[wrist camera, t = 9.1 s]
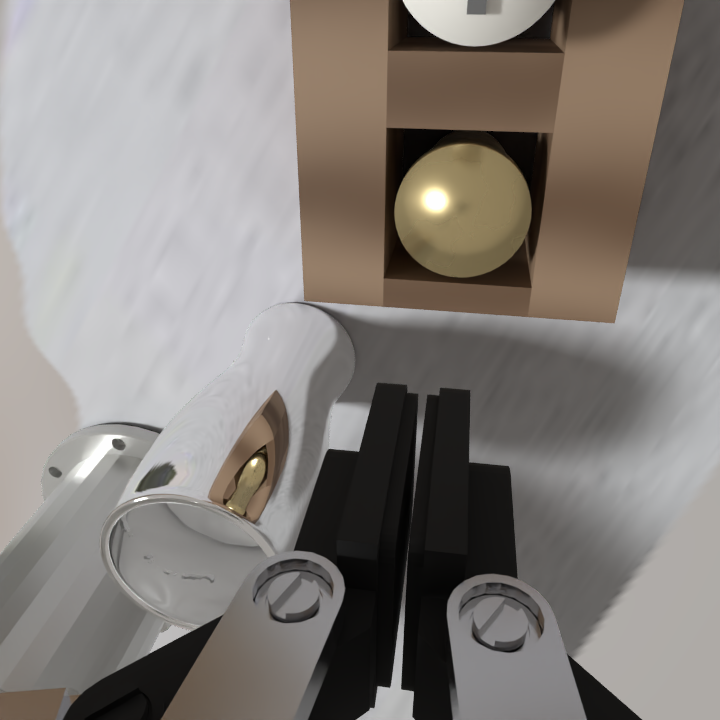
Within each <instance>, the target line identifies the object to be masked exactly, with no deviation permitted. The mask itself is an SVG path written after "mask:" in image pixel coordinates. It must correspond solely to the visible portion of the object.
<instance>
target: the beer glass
mask: <svg viewBox="0 0 720 720" xmlns="http://www.w3.org/2000/svg"><path fill="white" fill-rule="evenodd" d="M354 370H355V351H354V347H353V344H352V341H351V339H350V337H349V335H348V333H347V332H346V330H345V329H344V328H343V326H342V325H341V324H340V323H339V322H338V321H337V320H336V319H335V318H333V317H332V316H331V315H329V314H328V313H326V312H324V311H323V310H321V309H318V308H316V307H313V306H310V305H306V304H301V303H283V304H278V305H275V306H272V307H270V308H268V309H266V310H264V311H263V312H261V313H260V314H259V315H257V316H256V317H255V318H254V319H253V321H252V322H251V323H250V325H249V327H248V328H247V331H246V333H245V336H244V340H243V344H242V348H241V351H240V353H239V355H238V357H237V359H236V360H235V361H233V364H232V365H231V366H230V367H228V368H227V369H226V370H225V371H224V372H223V373H222V374H220V375H219V376H218V377H217V378H215V379H214V380H213V381H212V382H211V383H209V384H208V385H207V386H206V387H205V388H203V389H202V390H201V391H200V392H199V393H198V394H196V395H195V396H194V397H193V398H192V399H191V400H190V401H189V402H188V403H187V404H186V405H185V406H184V407H183V408H182V409H181V410H180V411H179V412H178V413H177V414H176V415H175V416H174V417H173V418H172V419H171V421H170V422H169V423H168V424H167V426H166V427H165V428H164V429H163V431H162V432H161V433H160V434H159V436H158V437H157V438H156V440H155V441H154V442H153V444H152V445H151V447H150V448H149V450H148V452H147V453H146V455H145V456H144V458H143V459H142V461H141V462H140V464H139V465H138V467H137V469H136V470H135V472H134V474H133V476H132V477H131V479H130V481H129V482H128V484H127V486H126V488H125V489H124V491H123V493H122V495H121V497H120V499H119V500H118V502H117V504H116V506H115V507H114V509H113V511H112V512H111V513H110V514H109V516H108V517H107V518H106V520H105V522H104V524H103V526H102V529H101V532H100V538H99V547H100V554H101V558H102V561H103V564H104V566H105V568H106V570H107V572H108V574H109V576H110V577H111V579H112V580H113V582H114V583H115V584H116V586H117V587H118V588H119V589H120V590H121V591H122V592H123V593H124V594H125V595H126V596H127V597H128V598H129V599H130V600H131V601H132V602H133V603H135V604H136V605H137V606H139V607H140V608H141V609H143V610H144V611H146V612H147V613H149V614H151V615H153V616H154V617H156V618H158V619H160V620H162V621H164V622H166V623H169V624H171V625H174V626H177V627H180V628H183V629H186V630H190V631H193V630H195V629H197V628H199V627H201V626H203V625H204V624H206V623H208V622H210V621H212V620H214V619H216V618H218V617H220V616H221V615H223V614H224V613H225V611H226V610H227V608H228V606H229V605H230V603H231V601H232V600H233V598H234V596H235V595H236V593H237V591H238V590H239V588H240V586H241V585H242V583H243V581H244V580H245V578H246V577H247V575H248V574H249V573H250V572H251V571H252V569H253V568H254V567H255V566H256V565H258V564H259V563H261V562H262V561H264V560H265V559H267V558H268V557H271V556H274V555H277V554H279V553H282V552H291V551H294V548H295V545H296V542H297V539H298V535H299V532H300V529H301V526H302V523H303V520H304V517H305V514H306V511H307V508H308V505H309V502H310V499H311V496H312V493H313V490H314V487H315V484H316V481H317V478H318V475H319V472H320V469H321V466H322V463H323V460H324V457H325V454H326V452H327V450H328V449H329V438H330V422H331V413H332V409H333V406H334V404H335V402H336V401H337V399H338V398H339V397H340V396H341V394H342V393H343V392H344V390H345V389H346V388H347V386H348V385H349V383H350V381H351V379H352V376H353V373H354Z"/></svg>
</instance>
